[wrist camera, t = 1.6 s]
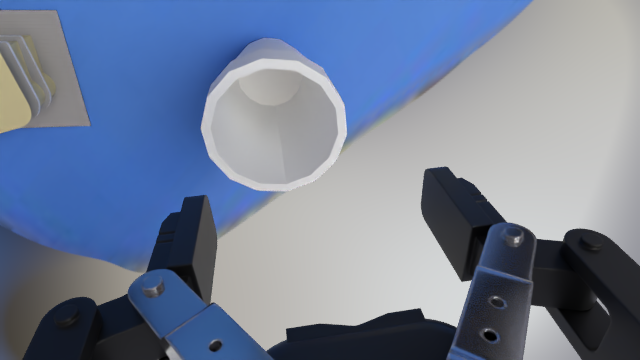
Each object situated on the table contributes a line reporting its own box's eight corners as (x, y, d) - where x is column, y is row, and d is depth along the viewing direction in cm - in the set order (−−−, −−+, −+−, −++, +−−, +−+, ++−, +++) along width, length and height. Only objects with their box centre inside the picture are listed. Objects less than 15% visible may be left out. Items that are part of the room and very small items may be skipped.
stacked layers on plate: (-69, 9, 31) (-126, 22, 26) (56, 10, 32) (23, 23, 27) (-15, 128, 36) (-55, 157, 31) (91, 125, 37) (67, 152, 32)
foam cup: (299, 2, 34) (320, 34, 23) (333, 98, 39) (364, 162, 28) (198, 44, 35) (172, 94, 24) (244, 133, 40) (240, 209, 29)
